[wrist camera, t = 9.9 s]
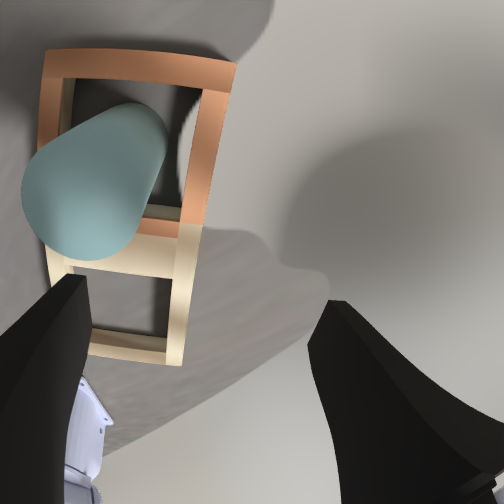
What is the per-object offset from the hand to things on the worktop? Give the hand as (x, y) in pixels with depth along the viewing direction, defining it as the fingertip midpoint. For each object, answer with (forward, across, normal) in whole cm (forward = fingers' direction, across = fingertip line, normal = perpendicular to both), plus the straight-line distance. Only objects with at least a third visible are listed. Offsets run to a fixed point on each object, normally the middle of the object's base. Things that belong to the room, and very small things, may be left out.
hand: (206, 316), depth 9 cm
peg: (+10, +4, -2) cm, 11 cm away
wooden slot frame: (+10, +5, +4) cm, 12 cm away
